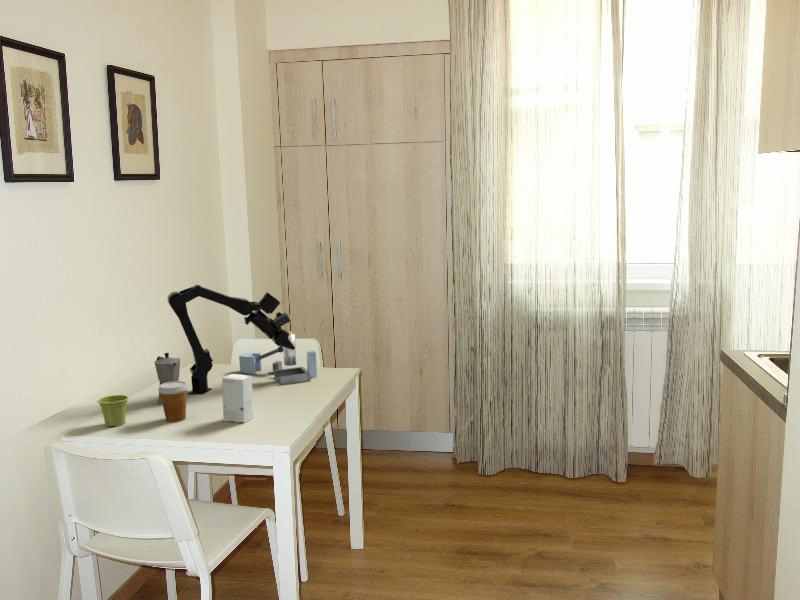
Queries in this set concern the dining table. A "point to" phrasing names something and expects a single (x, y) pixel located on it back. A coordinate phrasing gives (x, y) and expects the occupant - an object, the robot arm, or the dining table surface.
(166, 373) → the coffeepot
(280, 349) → the lever
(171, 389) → the disposable coffee cup
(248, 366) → the lever frame
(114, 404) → the plant pot
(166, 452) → the dining table surface
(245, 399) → the skincare box
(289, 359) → the silver metal cylinder
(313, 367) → the tray
